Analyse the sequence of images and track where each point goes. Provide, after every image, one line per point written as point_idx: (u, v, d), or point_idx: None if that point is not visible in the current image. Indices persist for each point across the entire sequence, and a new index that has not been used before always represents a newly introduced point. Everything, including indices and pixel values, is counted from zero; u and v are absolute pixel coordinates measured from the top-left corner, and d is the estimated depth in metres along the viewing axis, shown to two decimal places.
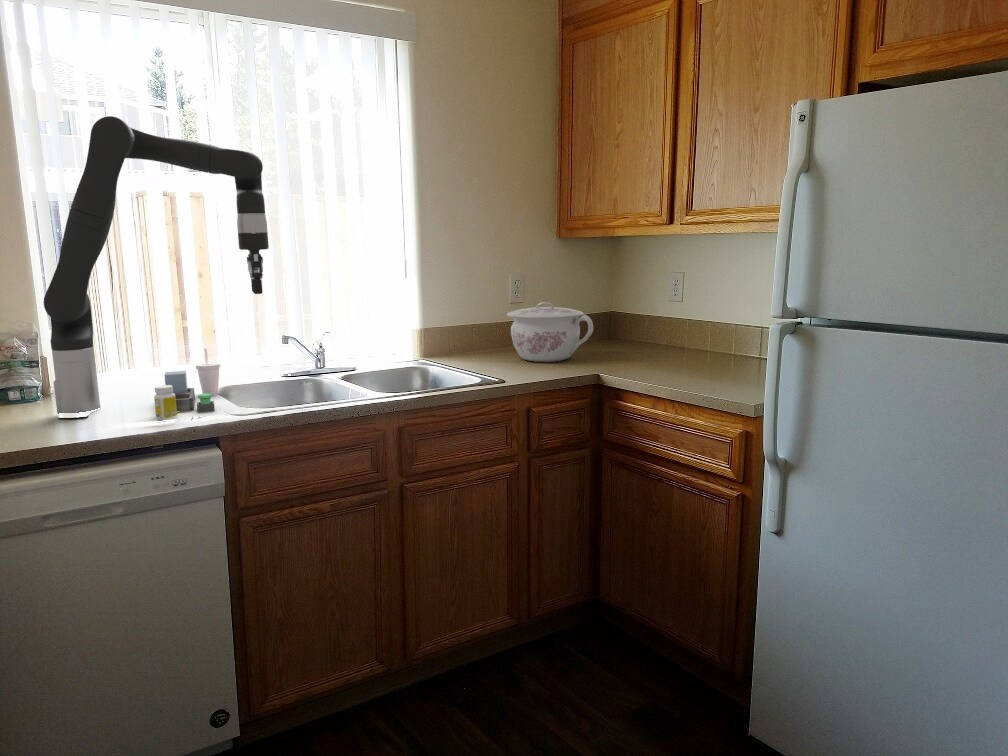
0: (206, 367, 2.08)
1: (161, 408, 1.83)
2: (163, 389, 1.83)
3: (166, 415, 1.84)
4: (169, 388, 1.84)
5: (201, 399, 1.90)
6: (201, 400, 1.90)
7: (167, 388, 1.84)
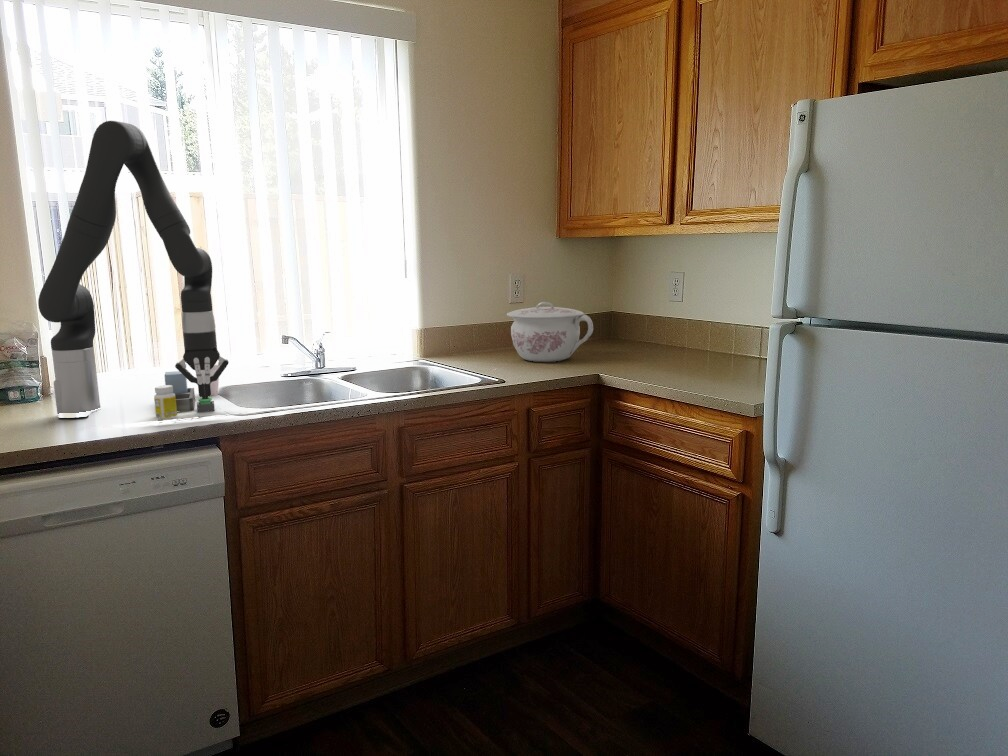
0: None
1: (161, 408, 1.83)
2: (163, 389, 1.83)
3: (166, 415, 1.84)
4: (169, 388, 1.84)
5: (201, 402, 1.90)
6: (201, 403, 1.90)
7: (167, 388, 1.84)
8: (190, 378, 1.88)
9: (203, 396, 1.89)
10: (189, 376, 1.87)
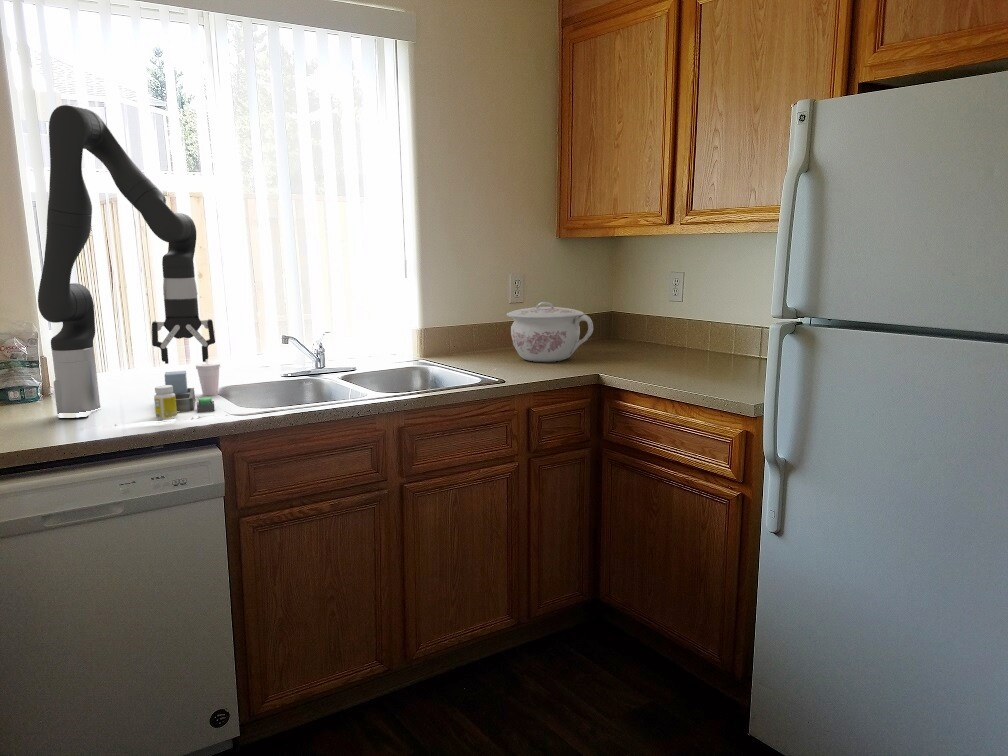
0: (206, 367, 2.08)
1: (161, 408, 1.83)
2: (163, 389, 1.83)
3: (166, 415, 1.84)
4: (169, 388, 1.84)
5: (201, 403, 1.90)
6: None
7: (167, 388, 1.84)
8: (154, 341, 1.83)
9: (166, 361, 1.85)
10: (155, 339, 1.83)
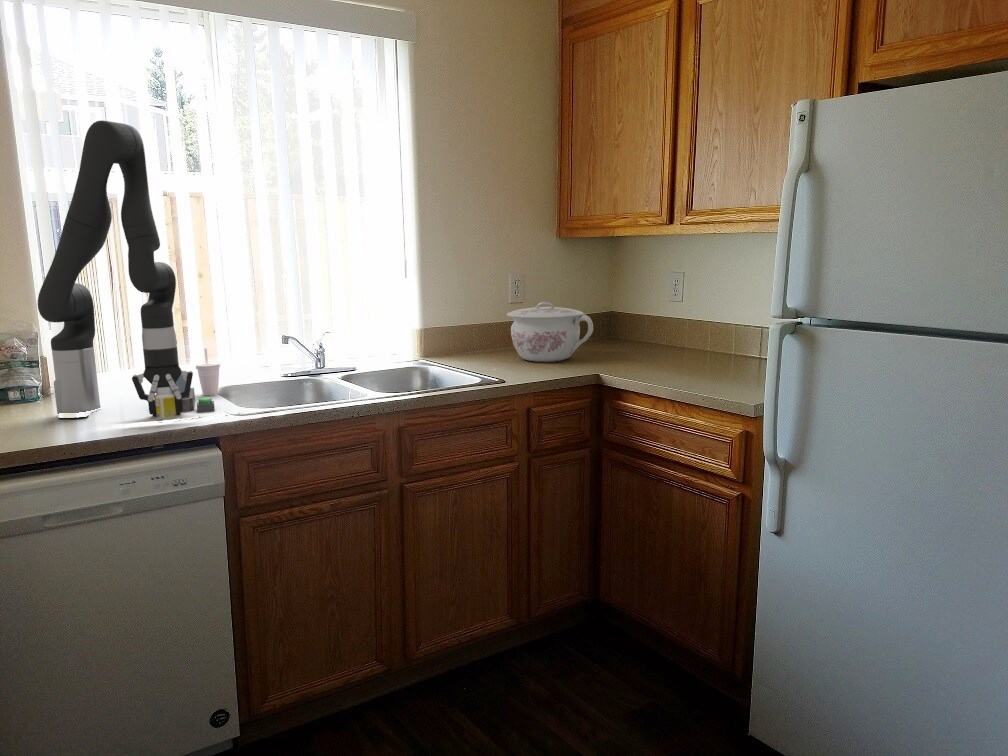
0: (206, 367, 2.08)
1: (161, 408, 1.83)
2: (163, 389, 1.83)
3: (166, 415, 1.84)
4: (169, 388, 1.84)
5: (201, 403, 1.90)
6: None
7: (167, 388, 1.84)
8: (141, 394, 1.82)
9: (154, 413, 1.84)
10: (141, 392, 1.82)
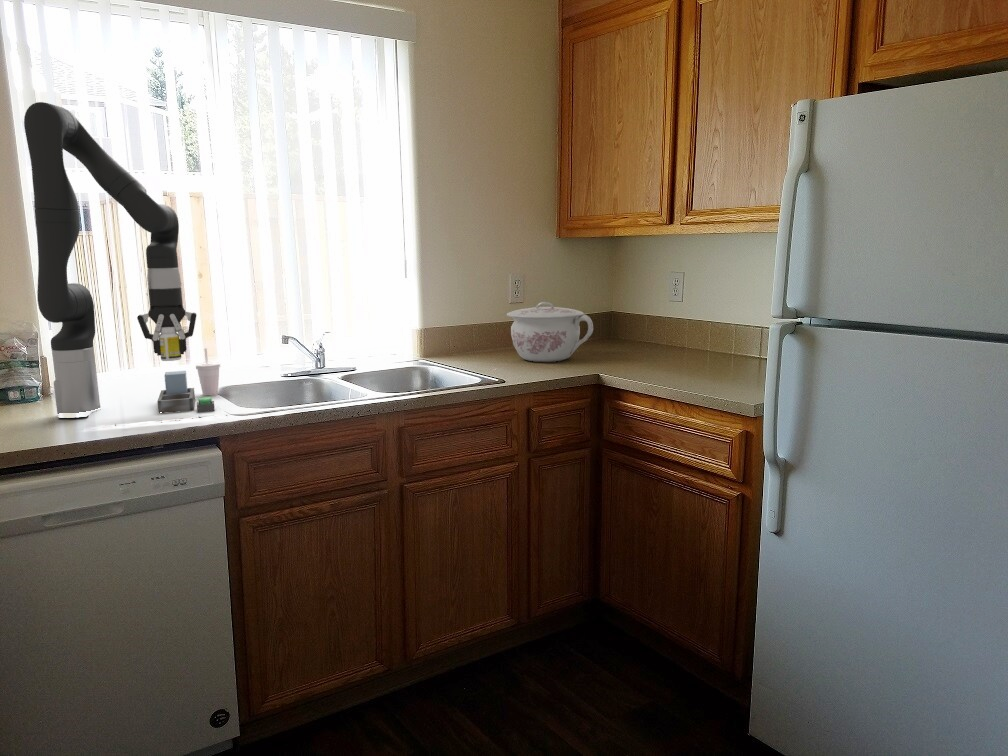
0: (206, 367, 2.08)
1: (165, 347, 1.88)
2: (167, 329, 1.88)
3: (170, 354, 1.89)
4: (173, 328, 1.89)
5: (201, 403, 1.90)
6: None
7: (171, 328, 1.88)
8: (146, 333, 1.87)
9: (158, 352, 1.89)
10: (146, 331, 1.87)
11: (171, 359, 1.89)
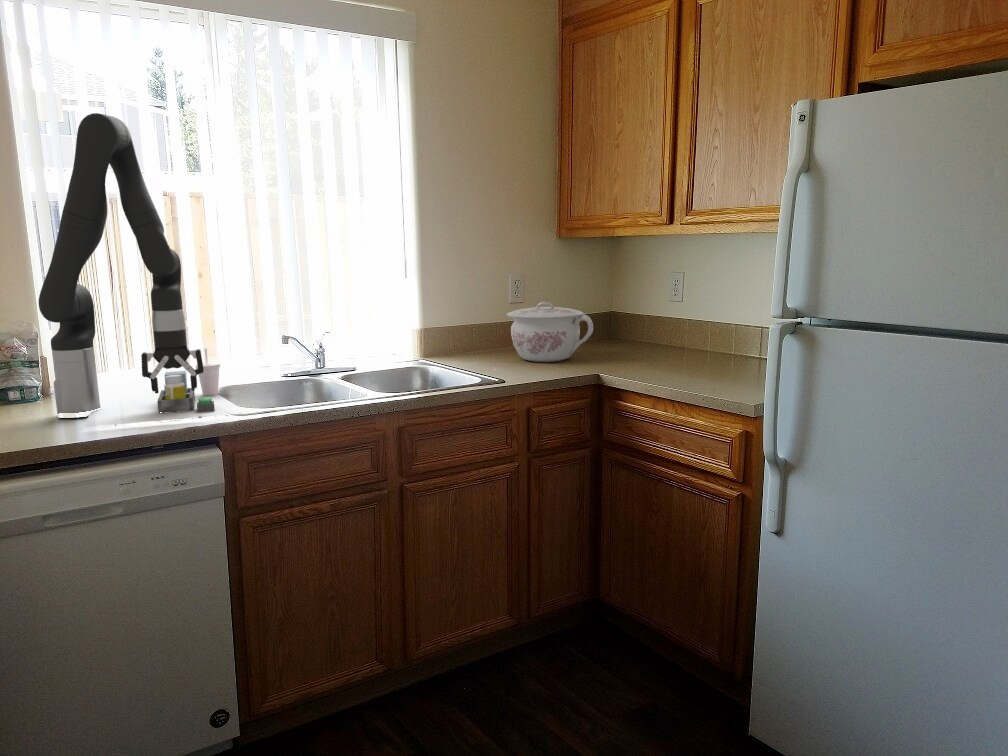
0: (206, 367, 2.08)
1: (170, 397, 1.91)
2: (173, 378, 1.90)
3: None
4: (178, 377, 1.91)
5: (201, 403, 1.90)
6: None
7: (177, 377, 1.91)
8: (144, 372, 1.89)
9: (156, 390, 1.90)
10: (145, 370, 1.88)
11: None
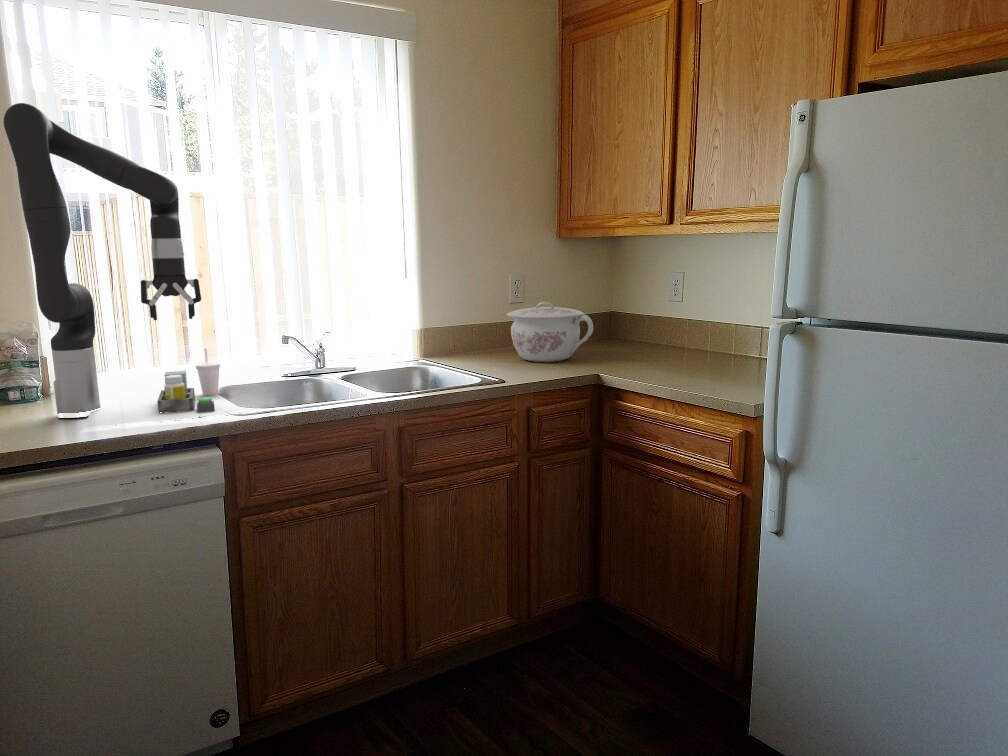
0: (206, 367, 2.08)
1: (170, 397, 1.91)
2: (173, 378, 1.90)
3: None
4: (178, 377, 1.91)
5: (201, 403, 1.90)
6: None
7: (177, 377, 1.91)
8: (143, 298, 1.94)
9: (154, 317, 1.96)
10: (144, 296, 1.94)
11: None
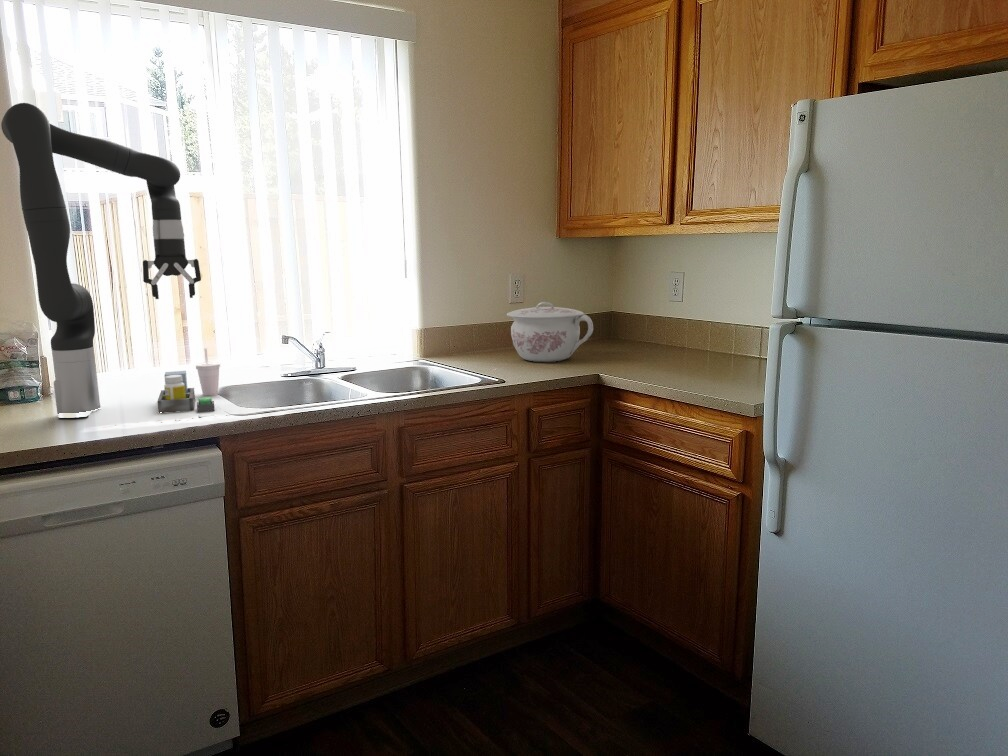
0: (206, 367, 2.08)
1: (170, 397, 1.91)
2: (173, 378, 1.90)
3: None
4: (179, 377, 1.91)
5: (201, 403, 1.90)
6: None
7: (177, 377, 1.91)
8: (145, 278, 2.01)
9: (156, 296, 2.03)
10: (146, 276, 2.01)
11: None
